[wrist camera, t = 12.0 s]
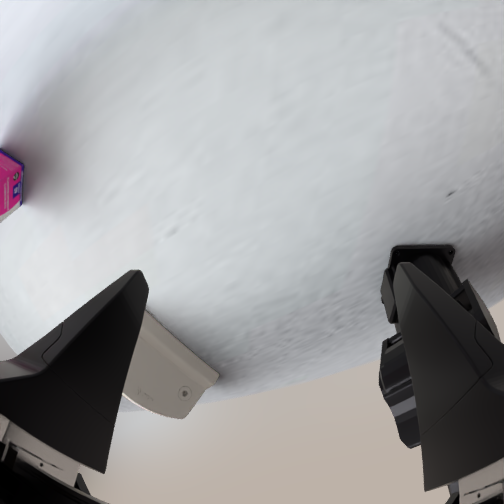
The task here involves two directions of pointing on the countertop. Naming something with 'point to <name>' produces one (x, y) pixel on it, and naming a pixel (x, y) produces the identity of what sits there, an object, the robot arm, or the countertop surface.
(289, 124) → the countertop surface
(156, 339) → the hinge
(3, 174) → the supplement box
